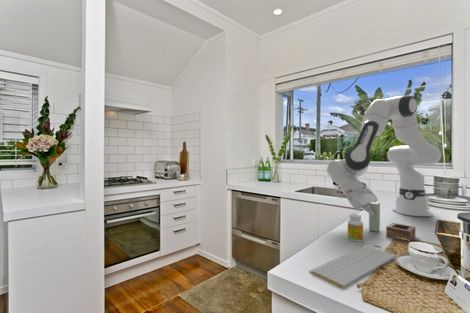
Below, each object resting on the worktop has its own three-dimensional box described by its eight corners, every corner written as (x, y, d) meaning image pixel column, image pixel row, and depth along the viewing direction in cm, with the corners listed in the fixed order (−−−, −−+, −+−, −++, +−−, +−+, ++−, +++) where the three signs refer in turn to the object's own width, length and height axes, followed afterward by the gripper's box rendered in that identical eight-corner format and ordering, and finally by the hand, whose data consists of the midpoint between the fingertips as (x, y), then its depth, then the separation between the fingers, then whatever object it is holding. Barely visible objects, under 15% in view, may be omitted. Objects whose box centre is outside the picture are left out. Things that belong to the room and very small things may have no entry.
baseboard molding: (304, 272, 70) (343, 291, 60) (304, 262, 70) (343, 280, 60) (359, 248, 88) (395, 260, 78) (359, 240, 88) (396, 251, 78)
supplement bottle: (348, 240, 94) (348, 216, 93) (347, 236, 99) (347, 213, 98) (363, 242, 92) (364, 217, 91) (361, 238, 97) (362, 214, 96)
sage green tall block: (372, 228, 109) (372, 201, 109) (379, 229, 106) (379, 202, 106) (368, 229, 106) (369, 203, 106) (376, 231, 104) (376, 204, 104)
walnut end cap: (393, 231, 105) (393, 222, 105) (415, 236, 99) (415, 226, 99) (386, 236, 99) (386, 226, 99) (409, 241, 93) (409, 231, 93)
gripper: (348, 186, 104) (373, 213, 97) (366, 183, 118) (389, 206, 111) (338, 195, 108) (361, 221, 101) (357, 190, 121) (378, 213, 114)
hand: (376, 213), depth 106 cm, fingers closed on sage green tall block, 4 cm apart
